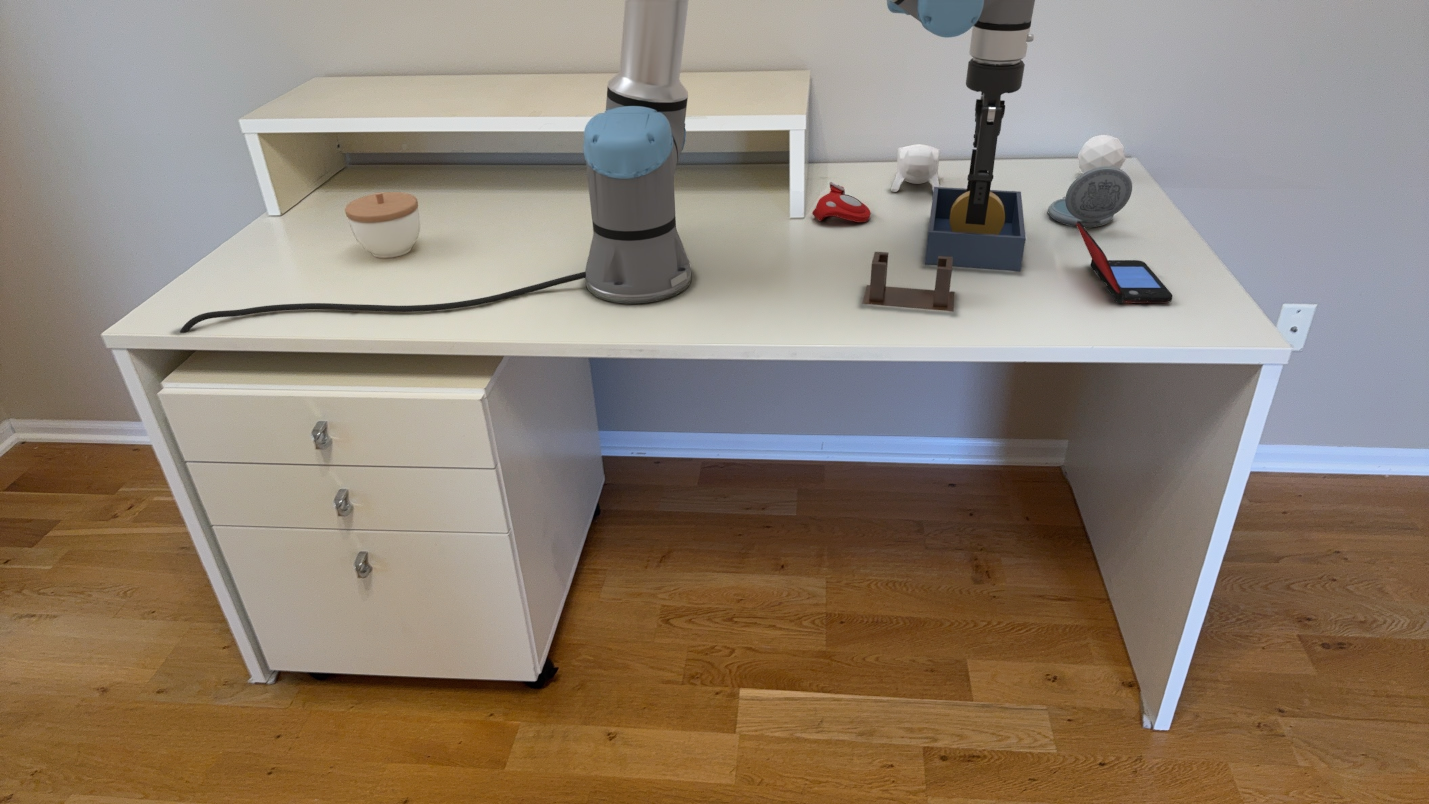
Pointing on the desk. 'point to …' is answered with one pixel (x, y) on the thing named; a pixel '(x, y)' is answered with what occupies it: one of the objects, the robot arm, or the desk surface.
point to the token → (992, 224)
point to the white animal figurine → (917, 166)
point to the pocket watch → (1093, 198)
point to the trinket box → (385, 223)
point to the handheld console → (1125, 276)
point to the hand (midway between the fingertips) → (975, 207)
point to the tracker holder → (841, 206)
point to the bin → (976, 235)
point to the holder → (907, 296)
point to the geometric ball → (1101, 153)
